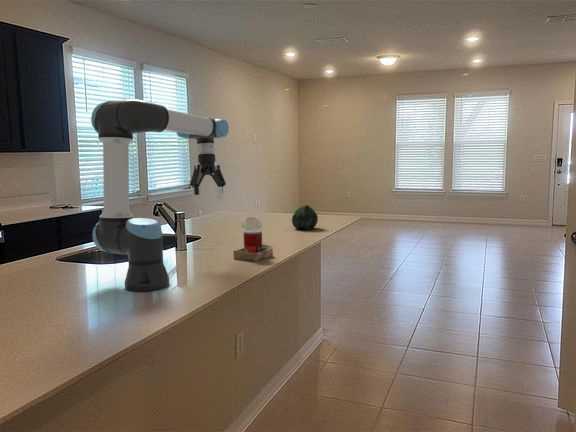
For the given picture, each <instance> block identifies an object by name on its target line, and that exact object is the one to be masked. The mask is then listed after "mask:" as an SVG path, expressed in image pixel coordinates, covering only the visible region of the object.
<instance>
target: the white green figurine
mask: <svg viewBox="0 0 576 432" xmlns="http://www.w3.org/2000/svg"><path fill="white" fill-rule="evenodd" d="M259 219H260V218H259V217H257V216H247V217H244V219H243V220H241V228H244V231H245V230H260V229H261V228H263V223H262V221H260V220H259Z"/></svg>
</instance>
